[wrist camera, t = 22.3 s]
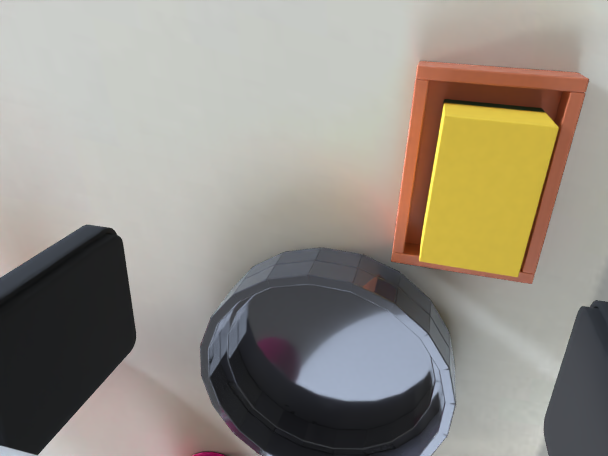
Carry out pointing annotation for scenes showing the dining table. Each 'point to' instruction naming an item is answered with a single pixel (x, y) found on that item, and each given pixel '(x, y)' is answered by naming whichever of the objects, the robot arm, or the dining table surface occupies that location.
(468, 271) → the soap dish
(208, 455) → the pepper mill
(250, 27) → the dining table surface
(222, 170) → the dining table surface
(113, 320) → the robot arm
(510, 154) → the sponge
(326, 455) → the pan
